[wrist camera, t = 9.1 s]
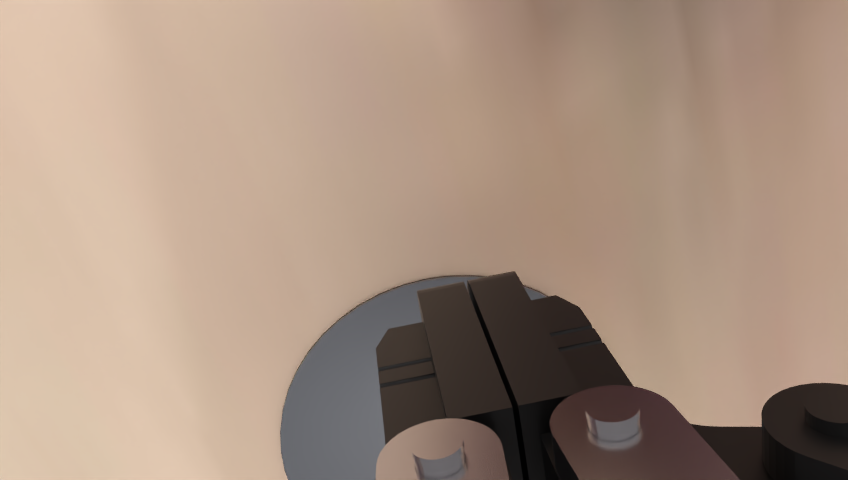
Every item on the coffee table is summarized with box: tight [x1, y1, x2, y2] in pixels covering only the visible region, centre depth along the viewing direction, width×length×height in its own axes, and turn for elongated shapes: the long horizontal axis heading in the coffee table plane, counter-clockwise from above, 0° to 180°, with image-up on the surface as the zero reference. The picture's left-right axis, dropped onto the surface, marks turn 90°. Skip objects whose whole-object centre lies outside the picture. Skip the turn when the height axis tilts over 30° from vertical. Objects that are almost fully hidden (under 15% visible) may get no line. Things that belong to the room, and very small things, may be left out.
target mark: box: [280, 276, 547, 480], centre depth 30 cm, size 13×13×1 cm
